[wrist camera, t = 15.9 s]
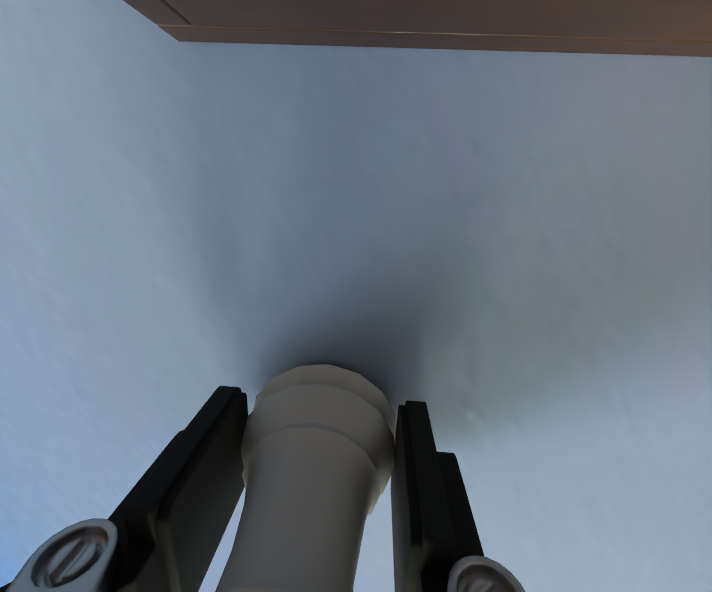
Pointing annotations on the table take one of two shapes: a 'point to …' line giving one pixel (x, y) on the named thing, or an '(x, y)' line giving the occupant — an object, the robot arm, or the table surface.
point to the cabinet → (446, 24)
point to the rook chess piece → (309, 481)
